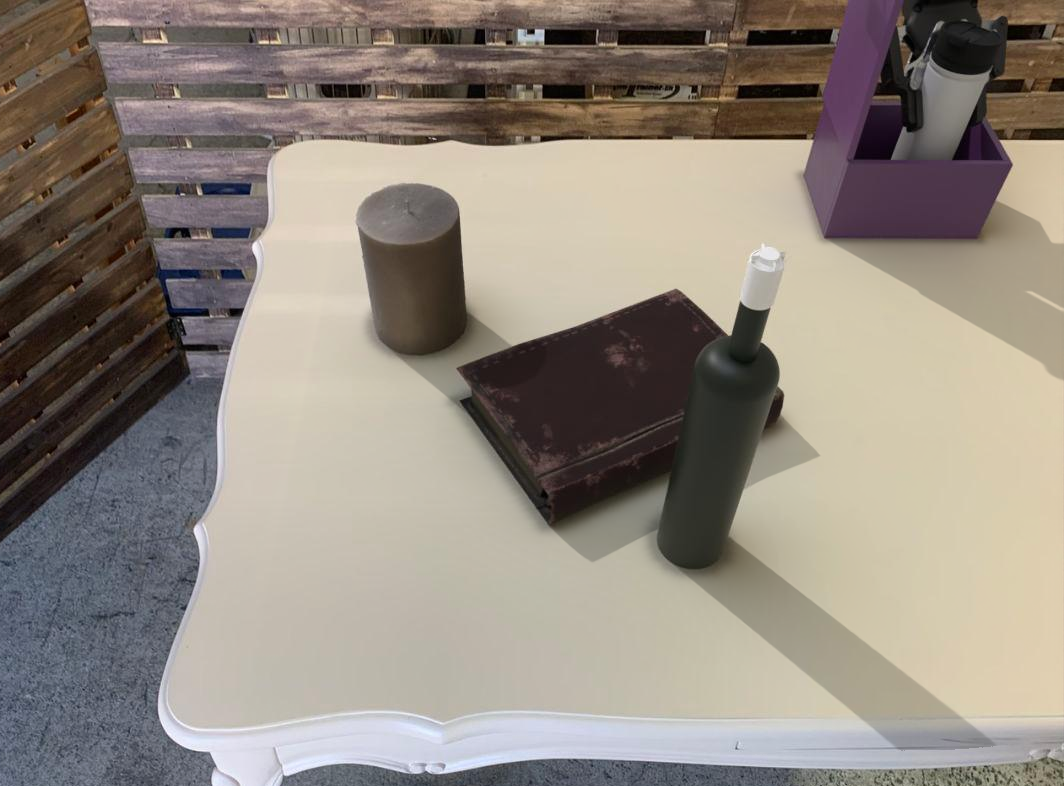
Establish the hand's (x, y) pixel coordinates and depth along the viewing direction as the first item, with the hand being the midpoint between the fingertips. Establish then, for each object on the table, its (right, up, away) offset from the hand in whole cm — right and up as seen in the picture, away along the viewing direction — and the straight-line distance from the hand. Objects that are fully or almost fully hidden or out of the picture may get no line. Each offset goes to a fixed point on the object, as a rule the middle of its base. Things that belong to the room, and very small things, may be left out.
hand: (944, 127), depth 97 cm
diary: (-37, -33, -10) cm, 50 cm away
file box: (-2, -5, +10) cm, 11 cm away
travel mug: (-1, -5, +10) cm, 11 cm away
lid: (-11, +6, -6) cm, 14 cm away
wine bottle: (-31, -45, -19) cm, 58 cm away
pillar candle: (-56, -22, -3) cm, 61 cm away
